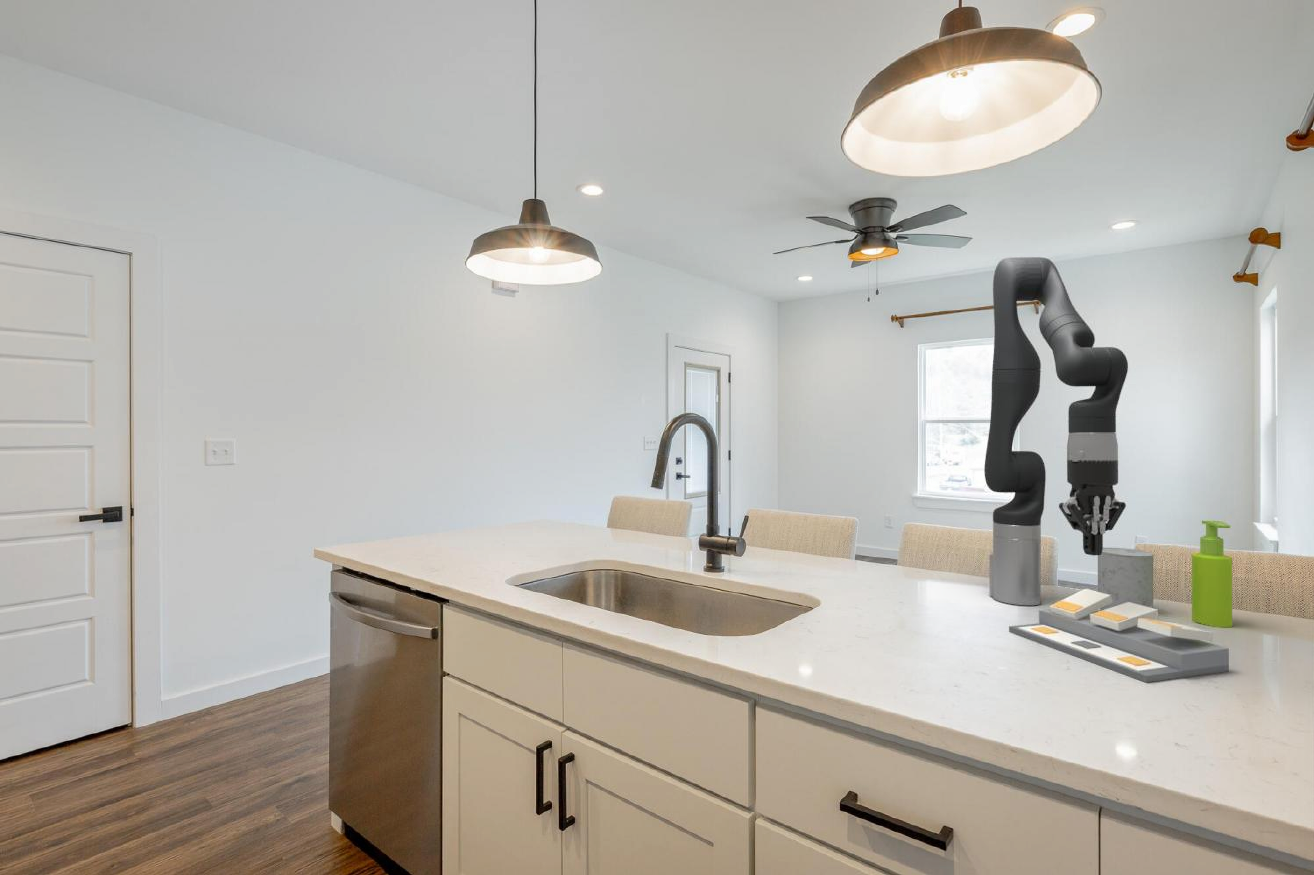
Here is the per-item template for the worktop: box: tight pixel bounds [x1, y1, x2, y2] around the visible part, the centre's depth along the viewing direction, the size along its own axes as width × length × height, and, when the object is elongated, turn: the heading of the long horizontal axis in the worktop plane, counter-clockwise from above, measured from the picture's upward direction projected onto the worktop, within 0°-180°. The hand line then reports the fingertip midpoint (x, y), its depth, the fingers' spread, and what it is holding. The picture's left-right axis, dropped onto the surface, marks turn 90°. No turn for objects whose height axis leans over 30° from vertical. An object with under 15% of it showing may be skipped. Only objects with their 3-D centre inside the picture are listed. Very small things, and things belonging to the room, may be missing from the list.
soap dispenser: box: [1191, 520, 1233, 628], centre depth 121 cm, size 6×7×20 cm
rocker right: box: [1137, 618, 1214, 642], centre depth 99 cm, size 5×9×2 cm, turn 105°
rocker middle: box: [1090, 602, 1160, 631], centre depth 107 cm, size 5×9×2 cm, turn 105°
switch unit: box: [1008, 608, 1230, 683], centre depth 106 cm, size 25×17×4 cm
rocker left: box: [1049, 588, 1112, 620], centre depth 115 cm, size 5×9×2 cm, turn 105°
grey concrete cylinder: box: [1097, 547, 1155, 610], centre depth 131 cm, size 10×10×12 cm
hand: (1092, 554), depth 111 cm, fingers closed
